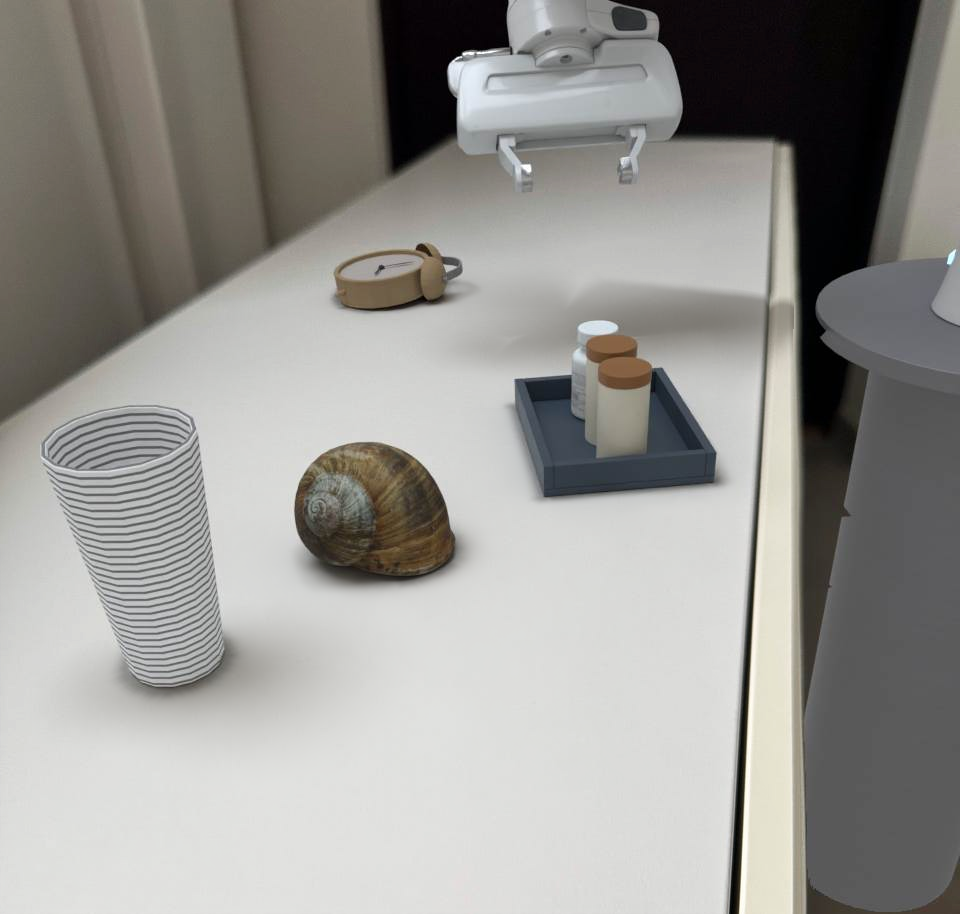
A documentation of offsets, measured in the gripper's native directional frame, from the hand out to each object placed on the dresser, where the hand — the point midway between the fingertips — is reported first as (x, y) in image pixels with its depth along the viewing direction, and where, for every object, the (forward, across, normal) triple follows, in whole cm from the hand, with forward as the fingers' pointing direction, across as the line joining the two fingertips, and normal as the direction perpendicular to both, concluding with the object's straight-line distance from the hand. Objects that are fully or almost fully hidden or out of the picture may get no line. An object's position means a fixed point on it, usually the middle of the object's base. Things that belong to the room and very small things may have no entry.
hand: (576, 185), depth 94 cm
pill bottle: (+20, 0, +3) cm, 21 cm away
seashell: (+34, -20, -11) cm, 41 cm away
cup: (+42, -33, -18) cm, 57 cm away
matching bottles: (+26, 0, -2) cm, 26 cm away
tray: (+24, 0, 0) cm, 24 cm away
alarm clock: (-7, -16, +30) cm, 35 cm away
